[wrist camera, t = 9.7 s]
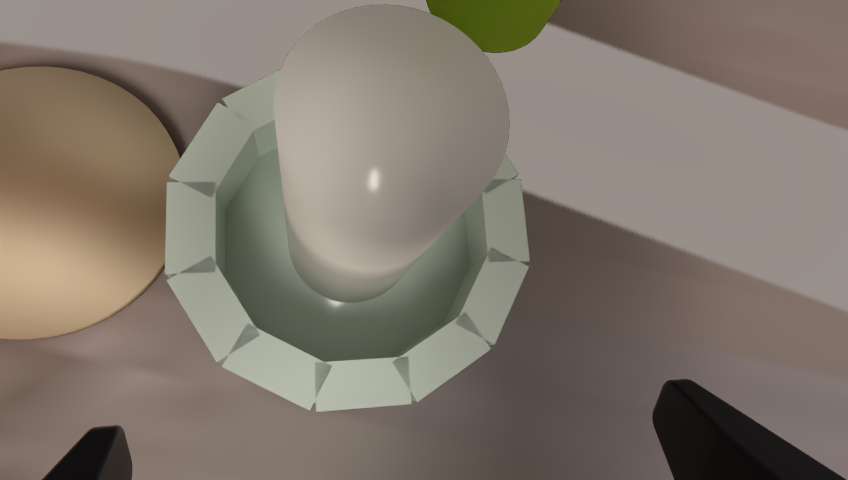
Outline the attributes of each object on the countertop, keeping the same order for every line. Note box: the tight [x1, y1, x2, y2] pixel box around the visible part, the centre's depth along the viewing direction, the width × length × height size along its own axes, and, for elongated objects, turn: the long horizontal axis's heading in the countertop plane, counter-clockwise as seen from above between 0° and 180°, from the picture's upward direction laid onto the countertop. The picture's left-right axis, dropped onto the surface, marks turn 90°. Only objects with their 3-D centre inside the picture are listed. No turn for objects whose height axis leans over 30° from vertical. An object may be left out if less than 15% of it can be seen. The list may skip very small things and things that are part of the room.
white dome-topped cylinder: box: [274, 4, 510, 303], centre depth 17 cm, size 5×5×12 cm
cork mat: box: [0, 66, 180, 340], centre depth 22 cm, size 10×10×1 cm
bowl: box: [165, 70, 530, 412], centre depth 22 cm, size 12×12×4 cm
